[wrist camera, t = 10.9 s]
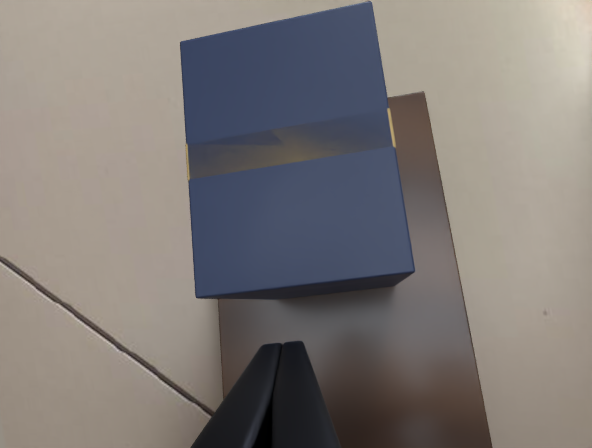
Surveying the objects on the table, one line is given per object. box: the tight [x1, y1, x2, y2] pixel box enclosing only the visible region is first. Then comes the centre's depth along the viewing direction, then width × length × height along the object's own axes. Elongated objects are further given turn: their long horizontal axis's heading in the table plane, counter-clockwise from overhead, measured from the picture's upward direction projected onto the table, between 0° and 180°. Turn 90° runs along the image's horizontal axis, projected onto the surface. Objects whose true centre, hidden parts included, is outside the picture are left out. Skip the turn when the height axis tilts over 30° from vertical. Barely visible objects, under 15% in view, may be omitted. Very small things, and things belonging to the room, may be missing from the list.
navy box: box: [180, 1, 415, 300], centre depth 17 cm, size 10×6×8 cm
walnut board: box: [218, 91, 492, 448], centre depth 21 cm, size 22×12×1 cm, turn 5°
